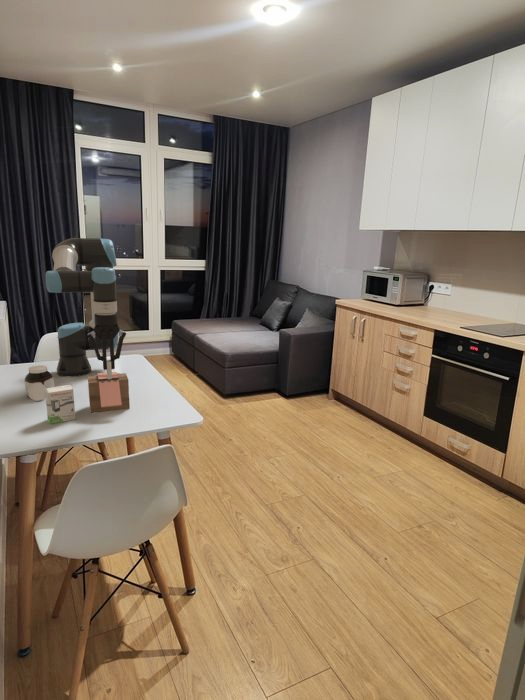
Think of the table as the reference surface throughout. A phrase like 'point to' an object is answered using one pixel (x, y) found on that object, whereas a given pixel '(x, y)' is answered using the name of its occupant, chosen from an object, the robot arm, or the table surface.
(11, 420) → the table surface
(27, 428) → the table surface
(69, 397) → the ink box
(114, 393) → the stub
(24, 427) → the table surface
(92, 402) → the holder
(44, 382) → the spread jar
